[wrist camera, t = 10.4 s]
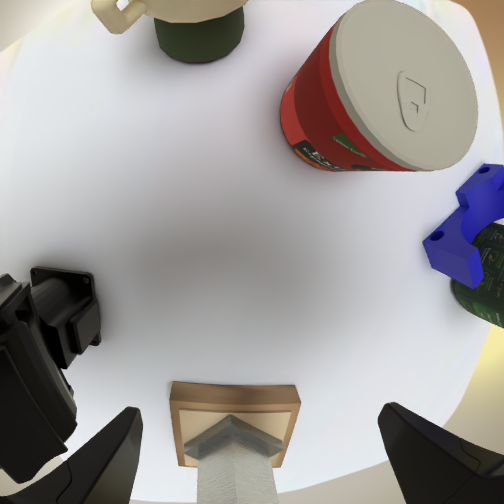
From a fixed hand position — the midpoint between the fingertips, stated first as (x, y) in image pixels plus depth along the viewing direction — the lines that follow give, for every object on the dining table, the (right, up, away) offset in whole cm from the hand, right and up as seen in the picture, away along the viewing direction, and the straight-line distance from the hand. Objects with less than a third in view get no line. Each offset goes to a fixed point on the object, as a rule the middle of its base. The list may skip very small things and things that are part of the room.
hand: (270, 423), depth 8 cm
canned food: (+5, +16, +10) cm, 19 cm away
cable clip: (+19, +10, +13) cm, 25 cm away
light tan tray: (-3, -11, +16) cm, 20 cm away
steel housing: (-2, -12, +13) cm, 18 cm away
